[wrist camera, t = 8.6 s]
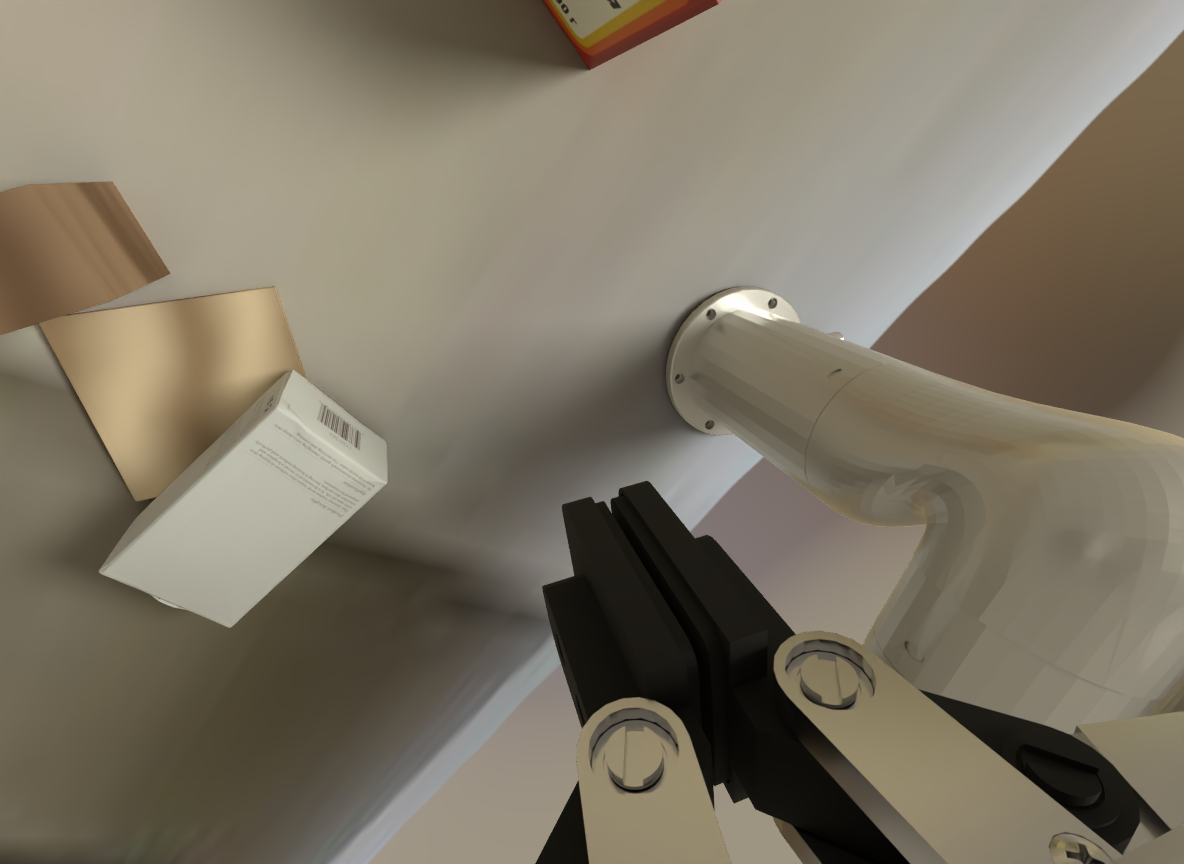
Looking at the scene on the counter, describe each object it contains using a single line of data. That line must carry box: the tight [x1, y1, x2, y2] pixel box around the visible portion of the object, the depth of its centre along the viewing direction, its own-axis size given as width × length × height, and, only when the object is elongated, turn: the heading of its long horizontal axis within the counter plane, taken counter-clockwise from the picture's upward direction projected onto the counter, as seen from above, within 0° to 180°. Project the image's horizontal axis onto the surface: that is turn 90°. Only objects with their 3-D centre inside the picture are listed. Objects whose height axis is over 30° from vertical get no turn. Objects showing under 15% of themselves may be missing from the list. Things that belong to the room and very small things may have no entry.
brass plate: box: [39, 286, 307, 502], centre depth 35 cm, size 12×12×1 cm
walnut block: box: [0, 182, 170, 335], centre depth 27 cm, size 5×5×8 cm
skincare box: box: [99, 370, 387, 628], centre depth 36 cm, size 8×6×15 cm
